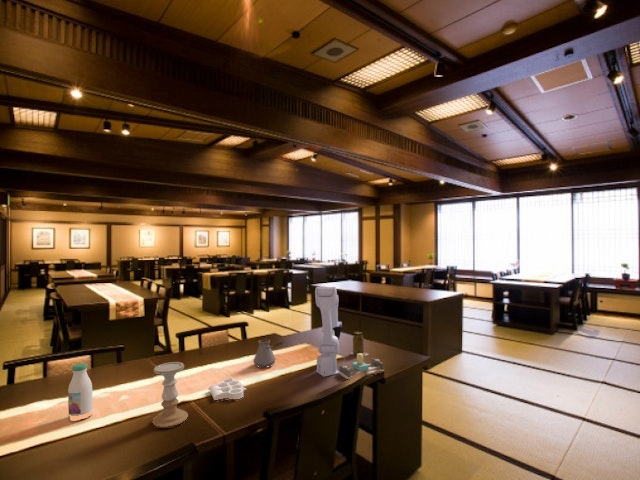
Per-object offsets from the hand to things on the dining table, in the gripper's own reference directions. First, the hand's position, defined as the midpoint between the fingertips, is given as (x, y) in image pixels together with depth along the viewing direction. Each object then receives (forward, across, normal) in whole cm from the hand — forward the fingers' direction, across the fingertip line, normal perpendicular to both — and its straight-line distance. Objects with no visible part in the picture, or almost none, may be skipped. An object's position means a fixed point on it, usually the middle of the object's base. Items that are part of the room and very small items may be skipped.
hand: (333, 341), depth 196 cm
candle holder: (+11, -88, +10) cm, 89 cm away
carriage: (+8, -8, -22) cm, 24 cm away
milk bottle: (+11, -107, +41) cm, 115 cm away
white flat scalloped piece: (+11, -60, +13) cm, 62 cm away
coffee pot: (+11, -27, +20) cm, 35 cm away
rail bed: (+10, -7, -22) cm, 25 cm away
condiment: (+11, +17, -6) cm, 21 cm away
